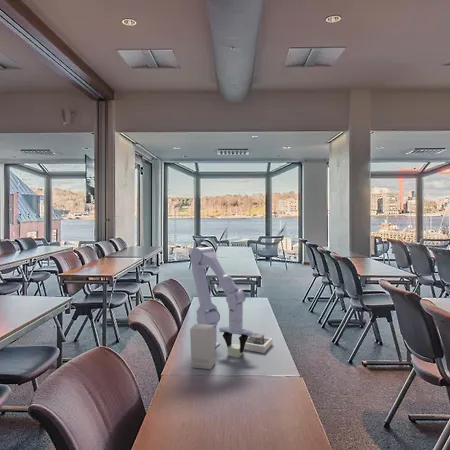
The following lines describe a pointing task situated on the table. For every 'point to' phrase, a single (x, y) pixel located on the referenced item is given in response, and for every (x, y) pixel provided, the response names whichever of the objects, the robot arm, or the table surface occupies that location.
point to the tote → (258, 347)
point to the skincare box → (202, 346)
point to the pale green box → (234, 350)
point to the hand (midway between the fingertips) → (235, 350)
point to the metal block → (257, 339)
